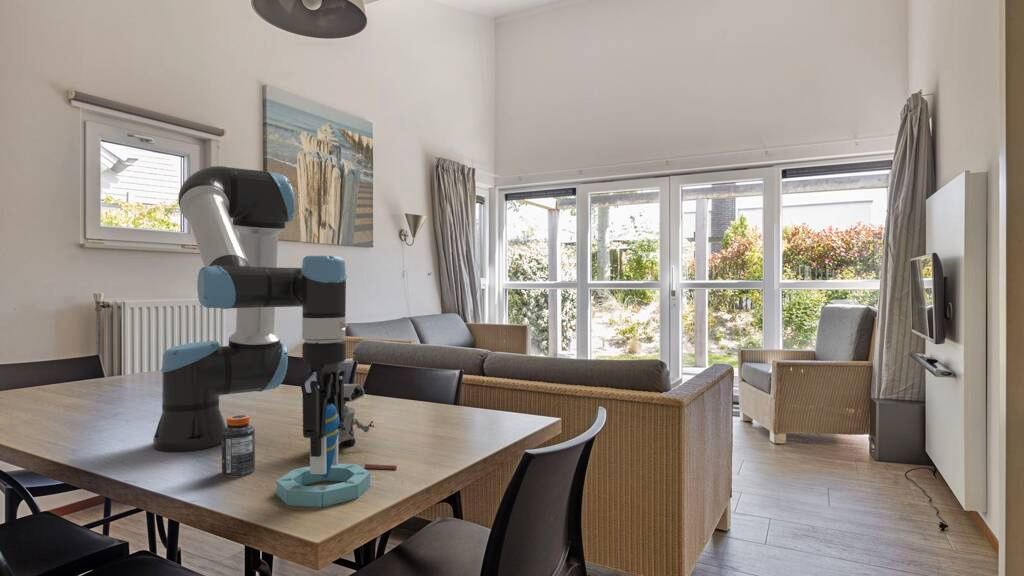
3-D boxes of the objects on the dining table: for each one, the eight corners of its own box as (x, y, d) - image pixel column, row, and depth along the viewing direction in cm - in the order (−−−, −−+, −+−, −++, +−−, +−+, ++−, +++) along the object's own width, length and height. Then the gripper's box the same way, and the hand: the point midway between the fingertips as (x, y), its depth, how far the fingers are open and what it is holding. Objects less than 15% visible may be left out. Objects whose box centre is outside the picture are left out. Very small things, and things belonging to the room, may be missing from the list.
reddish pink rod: (363, 468, 117) (363, 464, 117) (365, 467, 118) (365, 463, 118) (396, 469, 116) (396, 465, 116) (397, 468, 117) (397, 464, 117)
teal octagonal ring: (263, 504, 98) (263, 489, 98) (304, 474, 113) (304, 462, 113) (347, 508, 97) (347, 493, 97) (378, 478, 111) (378, 465, 111)
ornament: (322, 484, 101) (322, 399, 101) (303, 479, 104) (302, 396, 104) (345, 476, 106) (345, 394, 105) (326, 471, 108) (326, 391, 108)
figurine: (343, 459, 124) (343, 389, 123) (307, 450, 129) (307, 384, 129) (374, 448, 131) (374, 383, 131) (338, 441, 137) (338, 378, 137)
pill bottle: (229, 468, 117) (229, 413, 117) (259, 467, 117) (259, 412, 117) (216, 478, 111) (216, 420, 111) (248, 477, 111) (248, 419, 111)
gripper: (322, 346, 96) (323, 486, 96) (362, 336, 113) (362, 455, 113) (280, 345, 96) (280, 484, 97) (325, 336, 114) (325, 454, 114)
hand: (324, 468), depth 105 cm, fingers closed on ornament, 4 cm apart
